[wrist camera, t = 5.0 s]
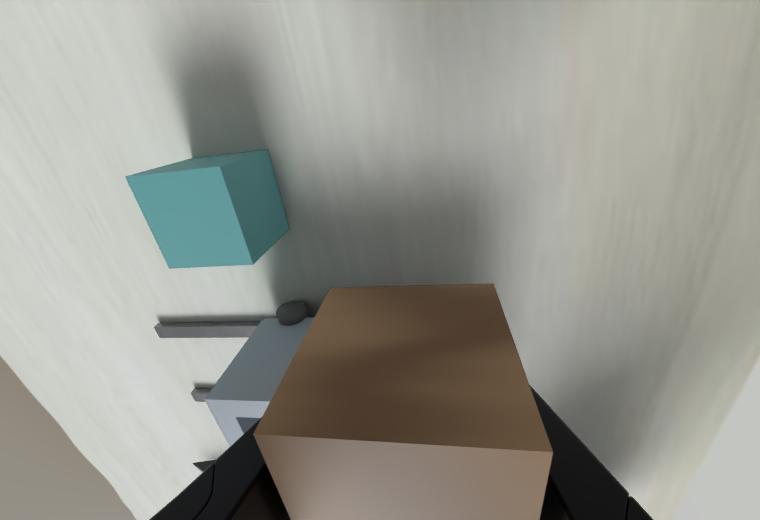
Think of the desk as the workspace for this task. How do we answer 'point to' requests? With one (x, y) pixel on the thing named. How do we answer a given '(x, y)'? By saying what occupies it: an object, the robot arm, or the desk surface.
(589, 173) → the desk surface
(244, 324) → the rails
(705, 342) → the desk surface
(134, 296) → the desk surface
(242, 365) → the box
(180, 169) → the teal block
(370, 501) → the tan cube
